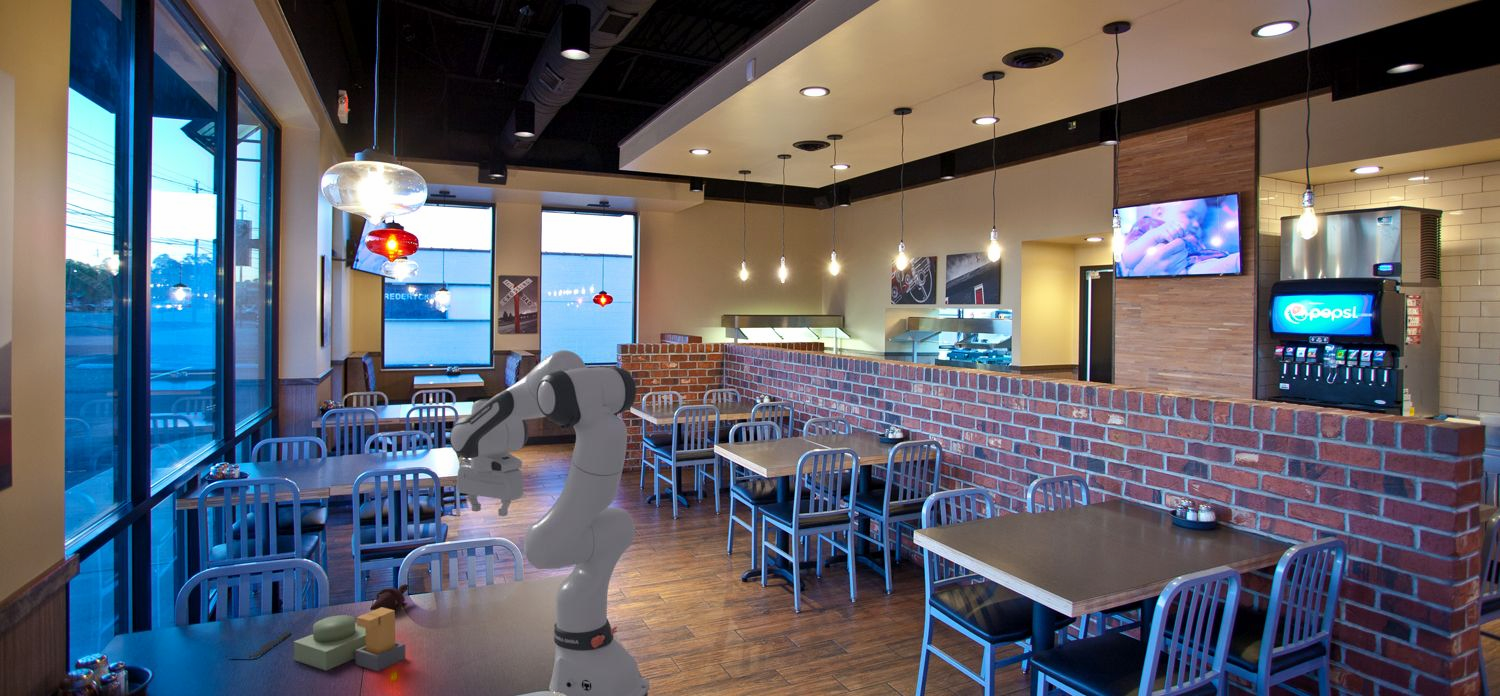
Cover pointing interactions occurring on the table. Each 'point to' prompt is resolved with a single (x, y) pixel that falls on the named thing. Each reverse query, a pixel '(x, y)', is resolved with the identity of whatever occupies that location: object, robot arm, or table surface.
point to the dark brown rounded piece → (390, 598)
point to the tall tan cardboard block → (378, 629)
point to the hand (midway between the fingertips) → (489, 513)
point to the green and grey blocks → (342, 646)
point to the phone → (269, 645)
